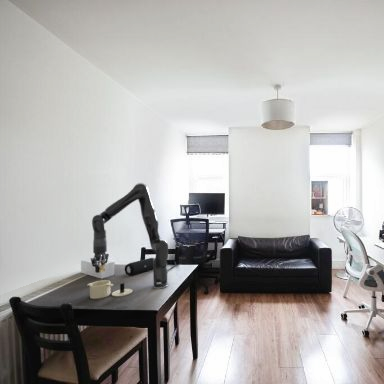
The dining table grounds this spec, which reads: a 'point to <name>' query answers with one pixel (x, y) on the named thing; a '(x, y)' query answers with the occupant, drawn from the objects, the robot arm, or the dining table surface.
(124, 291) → the lid
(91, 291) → the pot
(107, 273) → the white box
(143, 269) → the portable speaker
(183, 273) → the dining table surface
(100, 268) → the block
